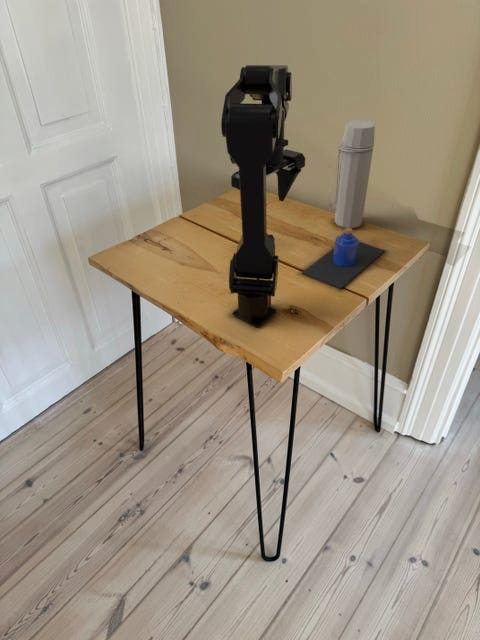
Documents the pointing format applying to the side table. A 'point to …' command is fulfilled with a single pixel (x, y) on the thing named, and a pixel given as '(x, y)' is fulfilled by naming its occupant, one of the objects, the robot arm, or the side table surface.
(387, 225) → the side table surface
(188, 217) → the side table surface
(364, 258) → the mat
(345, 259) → the flask
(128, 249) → the side table surface
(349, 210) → the water bottle
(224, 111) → the robot arm
